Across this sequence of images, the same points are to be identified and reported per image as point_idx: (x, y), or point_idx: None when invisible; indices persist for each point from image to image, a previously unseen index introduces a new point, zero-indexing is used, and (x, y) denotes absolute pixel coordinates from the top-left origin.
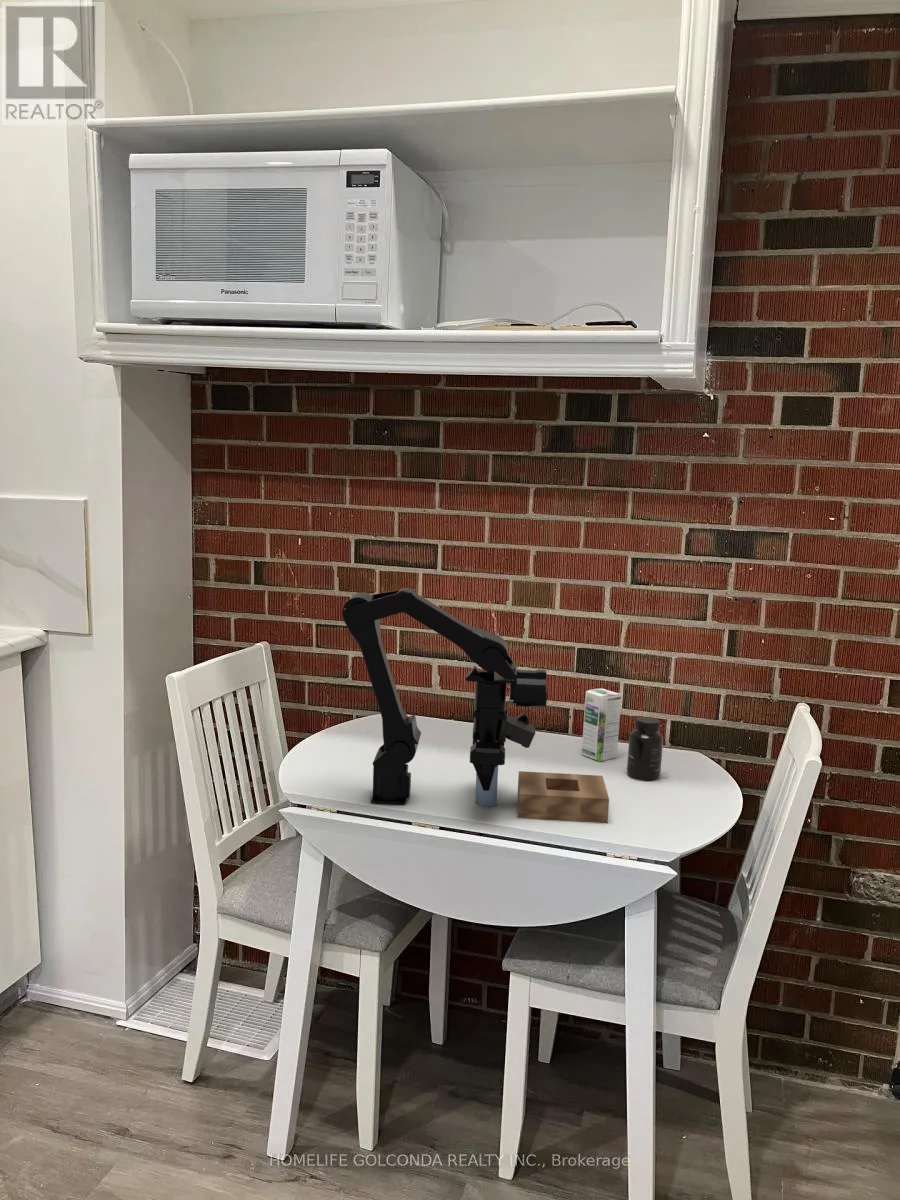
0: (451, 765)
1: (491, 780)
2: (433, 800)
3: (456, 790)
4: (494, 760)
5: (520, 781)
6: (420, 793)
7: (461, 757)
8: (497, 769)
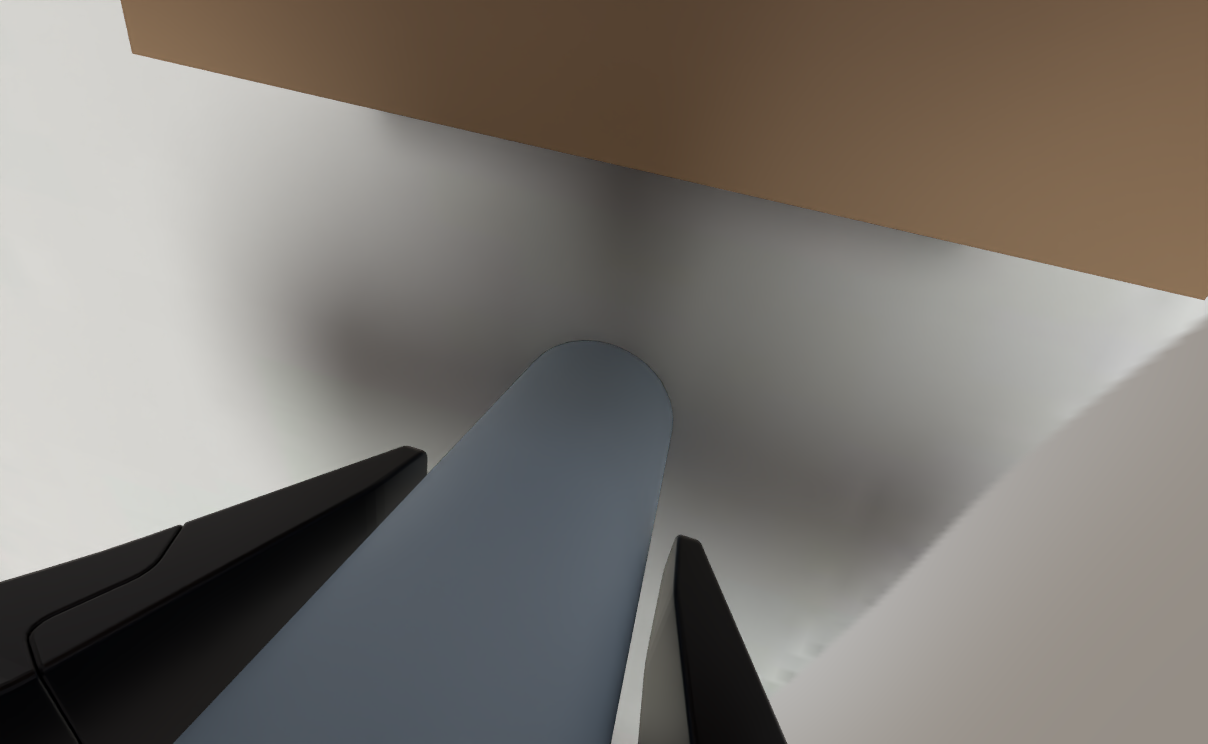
0: (54, 430)
1: (750, 663)
2: None
3: None
4: None
5: (558, 123)
6: None
7: None
8: (512, 616)
